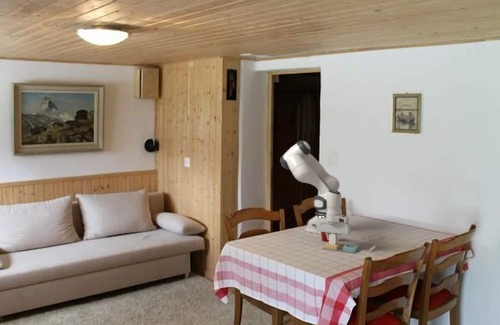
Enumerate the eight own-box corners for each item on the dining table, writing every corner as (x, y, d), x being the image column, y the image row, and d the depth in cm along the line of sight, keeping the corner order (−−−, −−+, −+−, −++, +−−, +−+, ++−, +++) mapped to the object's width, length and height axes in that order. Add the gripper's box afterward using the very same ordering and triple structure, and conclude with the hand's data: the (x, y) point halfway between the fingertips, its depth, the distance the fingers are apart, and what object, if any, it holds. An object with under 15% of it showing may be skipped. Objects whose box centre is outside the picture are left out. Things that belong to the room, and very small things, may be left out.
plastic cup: (338, 243, 322) (339, 225, 320) (322, 244, 320) (322, 225, 318) (332, 239, 332) (332, 221, 331) (316, 240, 330) (316, 221, 329)
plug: (328, 247, 309) (329, 232, 308) (331, 245, 312) (331, 231, 311) (335, 248, 307) (335, 233, 306) (337, 246, 310) (337, 231, 309)
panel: (322, 250, 307) (322, 245, 306) (329, 245, 317) (329, 240, 317) (355, 255, 297) (355, 249, 297) (361, 250, 308) (361, 244, 307)
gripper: (315, 216, 310) (315, 239, 311) (348, 220, 300) (348, 243, 302) (319, 214, 315) (318, 236, 317) (351, 218, 306) (351, 241, 307)
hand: (333, 240), depth 309 cm, fingers closed on plug, 4 cm apart
